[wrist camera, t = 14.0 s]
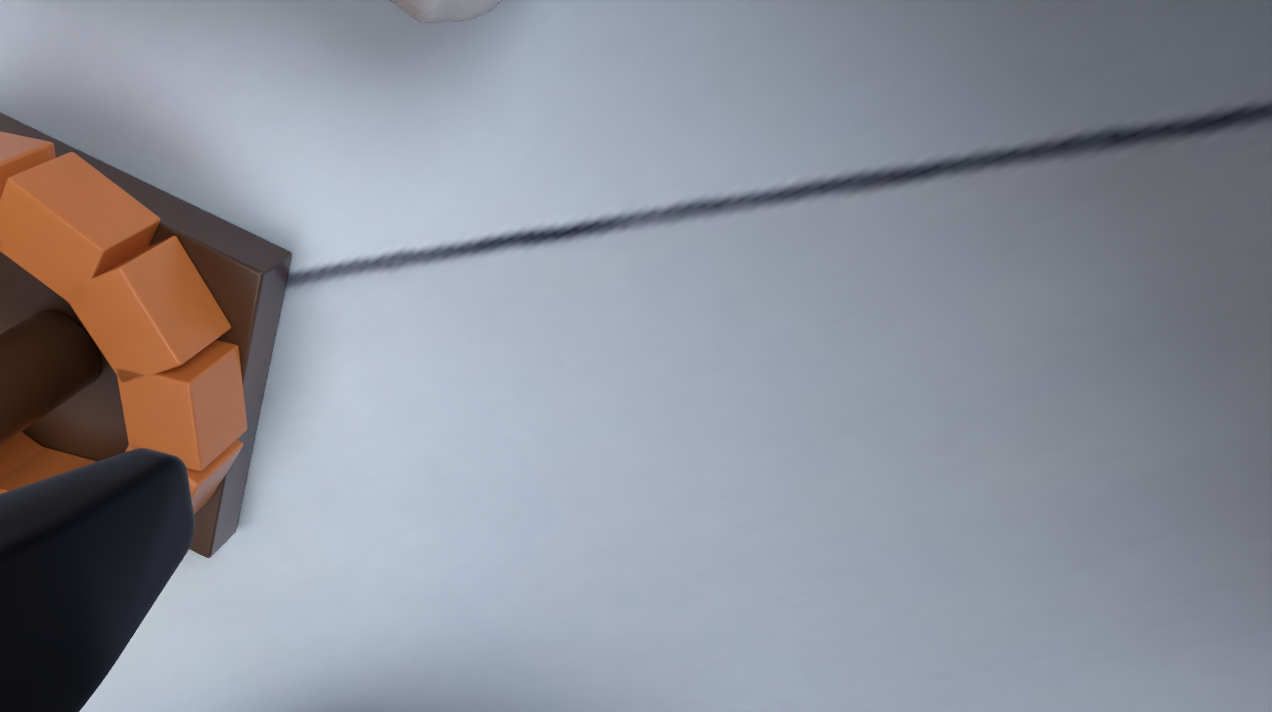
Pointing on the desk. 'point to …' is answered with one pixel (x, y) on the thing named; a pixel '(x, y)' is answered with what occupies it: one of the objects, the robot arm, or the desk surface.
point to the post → (82, 377)
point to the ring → (123, 314)
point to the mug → (445, 9)
